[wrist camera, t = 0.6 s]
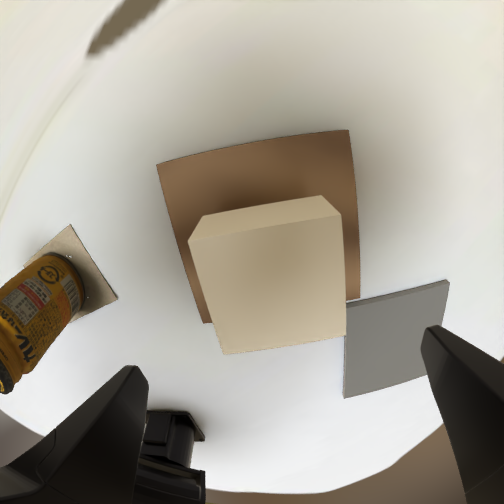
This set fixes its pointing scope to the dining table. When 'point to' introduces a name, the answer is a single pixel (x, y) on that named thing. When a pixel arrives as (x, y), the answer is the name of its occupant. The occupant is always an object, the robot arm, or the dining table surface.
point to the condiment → (46, 303)
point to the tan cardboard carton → (272, 273)
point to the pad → (389, 337)
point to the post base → (263, 190)
